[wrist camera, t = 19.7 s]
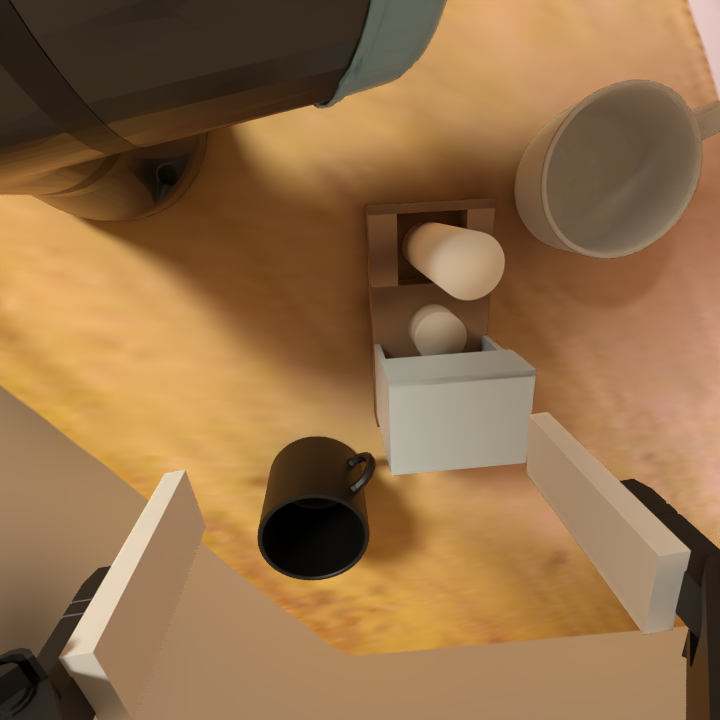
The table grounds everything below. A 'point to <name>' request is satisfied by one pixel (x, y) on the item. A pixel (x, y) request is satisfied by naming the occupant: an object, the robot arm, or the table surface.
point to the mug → (315, 509)
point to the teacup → (614, 169)
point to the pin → (455, 258)
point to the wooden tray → (421, 289)
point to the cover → (454, 409)
